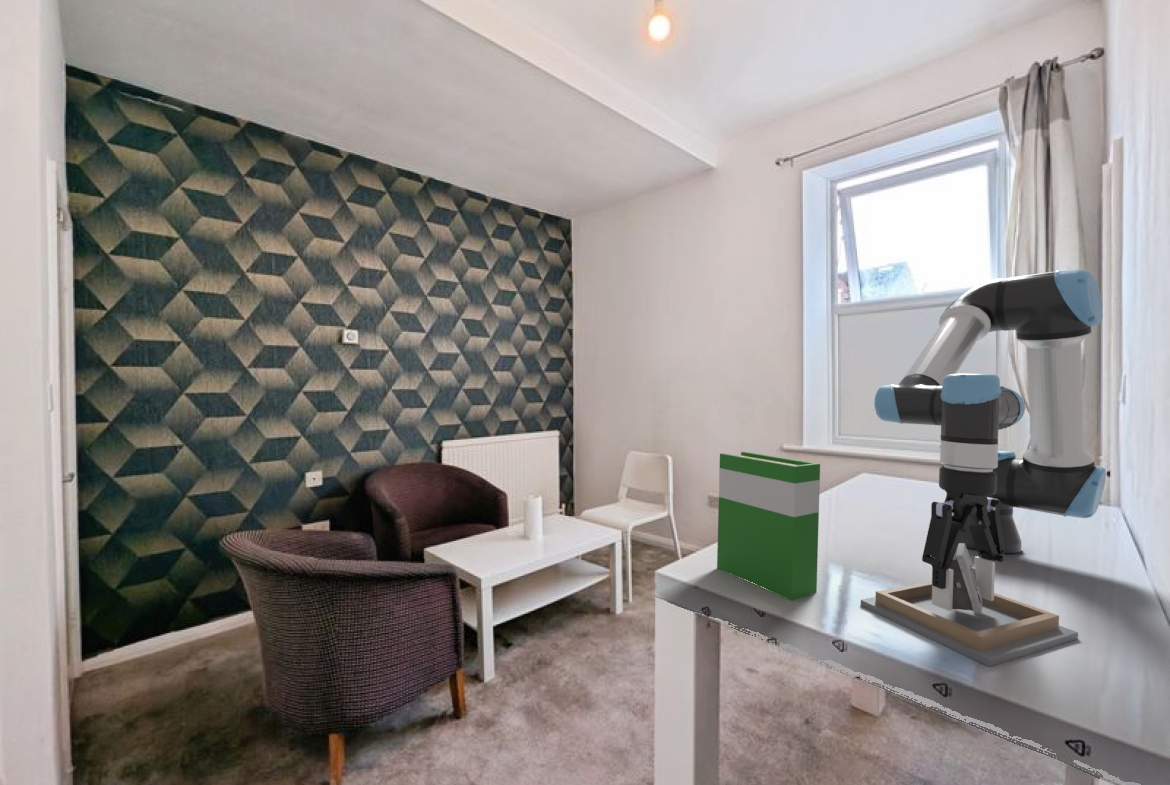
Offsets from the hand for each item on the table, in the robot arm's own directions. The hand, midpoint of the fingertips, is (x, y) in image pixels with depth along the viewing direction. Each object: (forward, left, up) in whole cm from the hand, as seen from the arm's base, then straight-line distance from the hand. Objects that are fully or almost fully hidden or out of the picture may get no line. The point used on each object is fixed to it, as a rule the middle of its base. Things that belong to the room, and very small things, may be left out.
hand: (963, 602), depth 82 cm
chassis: (0, 0, -3) cm, 3 cm away
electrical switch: (0, 0, -1) cm, 1 cm away
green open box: (+19, -25, -3) cm, 32 cm away
